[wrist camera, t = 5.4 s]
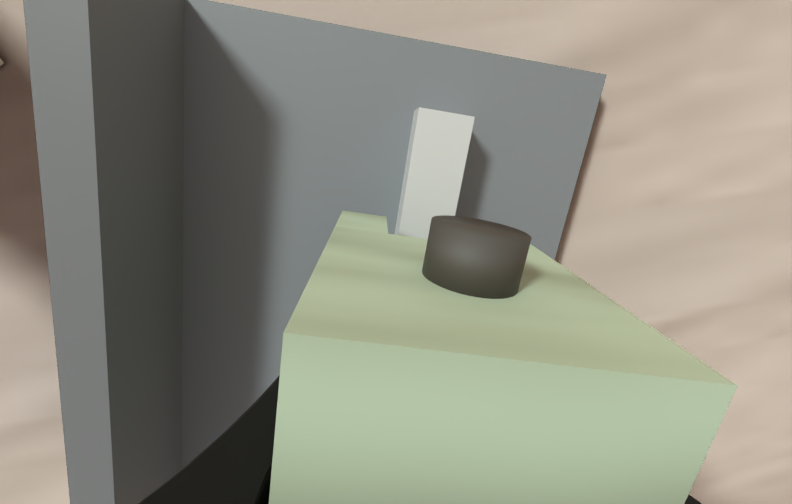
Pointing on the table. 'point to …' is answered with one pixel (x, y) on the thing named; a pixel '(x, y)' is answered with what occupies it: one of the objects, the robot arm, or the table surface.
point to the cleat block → (479, 379)
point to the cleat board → (250, 196)
